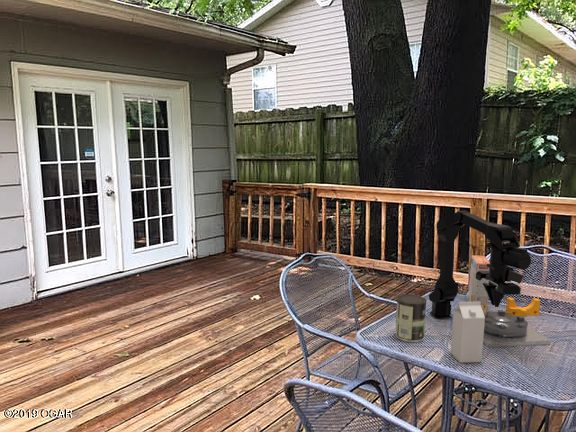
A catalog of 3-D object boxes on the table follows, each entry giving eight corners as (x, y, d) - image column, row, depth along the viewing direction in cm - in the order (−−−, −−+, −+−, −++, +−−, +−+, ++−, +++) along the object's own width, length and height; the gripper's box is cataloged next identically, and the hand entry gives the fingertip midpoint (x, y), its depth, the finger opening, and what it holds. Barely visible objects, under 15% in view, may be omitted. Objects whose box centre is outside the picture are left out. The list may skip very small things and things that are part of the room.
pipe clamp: (509, 316, 191) (511, 301, 190) (505, 312, 195) (507, 297, 194) (540, 317, 190) (542, 302, 189) (536, 313, 195) (537, 298, 194)
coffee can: (423, 332, 175) (425, 295, 172) (425, 343, 165) (427, 304, 162) (394, 329, 177) (396, 293, 174) (395, 341, 167) (396, 302, 164)
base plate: (488, 347, 162) (489, 334, 162) (456, 321, 185) (457, 310, 184) (550, 344, 165) (551, 332, 164) (511, 319, 188) (512, 308, 187)
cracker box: (487, 313, 194) (491, 263, 190) (471, 312, 195) (475, 262, 192) (482, 302, 207) (485, 255, 204) (467, 300, 208) (471, 254, 205)
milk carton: (450, 353, 158) (454, 298, 154) (471, 352, 158) (475, 297, 155) (459, 363, 151) (464, 306, 148) (481, 362, 151) (486, 305, 148)
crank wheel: (509, 318, 184) (511, 295, 182) (537, 336, 167) (539, 311, 166) (467, 319, 182) (469, 296, 180) (492, 338, 165) (494, 313, 164)
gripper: (538, 269, 154) (533, 315, 157) (505, 255, 173) (501, 296, 175) (505, 270, 153) (501, 316, 155) (476, 255, 171) (473, 297, 174)
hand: (495, 306), depth 165 cm, fingers closed
